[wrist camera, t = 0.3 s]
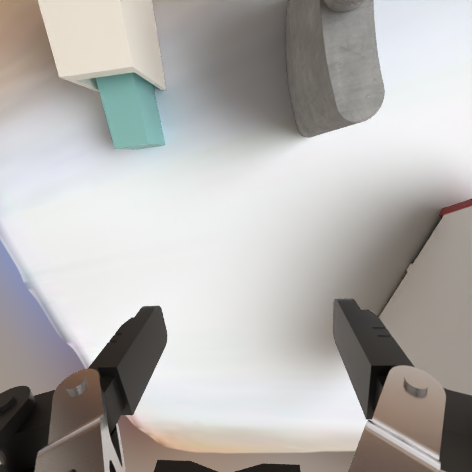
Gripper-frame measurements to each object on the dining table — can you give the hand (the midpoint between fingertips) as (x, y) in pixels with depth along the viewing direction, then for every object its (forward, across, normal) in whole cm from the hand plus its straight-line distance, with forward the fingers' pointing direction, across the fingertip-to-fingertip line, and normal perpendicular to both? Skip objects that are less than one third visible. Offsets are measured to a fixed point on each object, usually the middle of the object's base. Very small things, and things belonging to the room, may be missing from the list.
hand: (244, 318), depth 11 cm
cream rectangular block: (+28, +15, -21) cm, 38 cm away
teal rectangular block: (+28, +15, -16) cm, 36 cm away
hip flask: (+28, -7, -16) cm, 33 cm away
